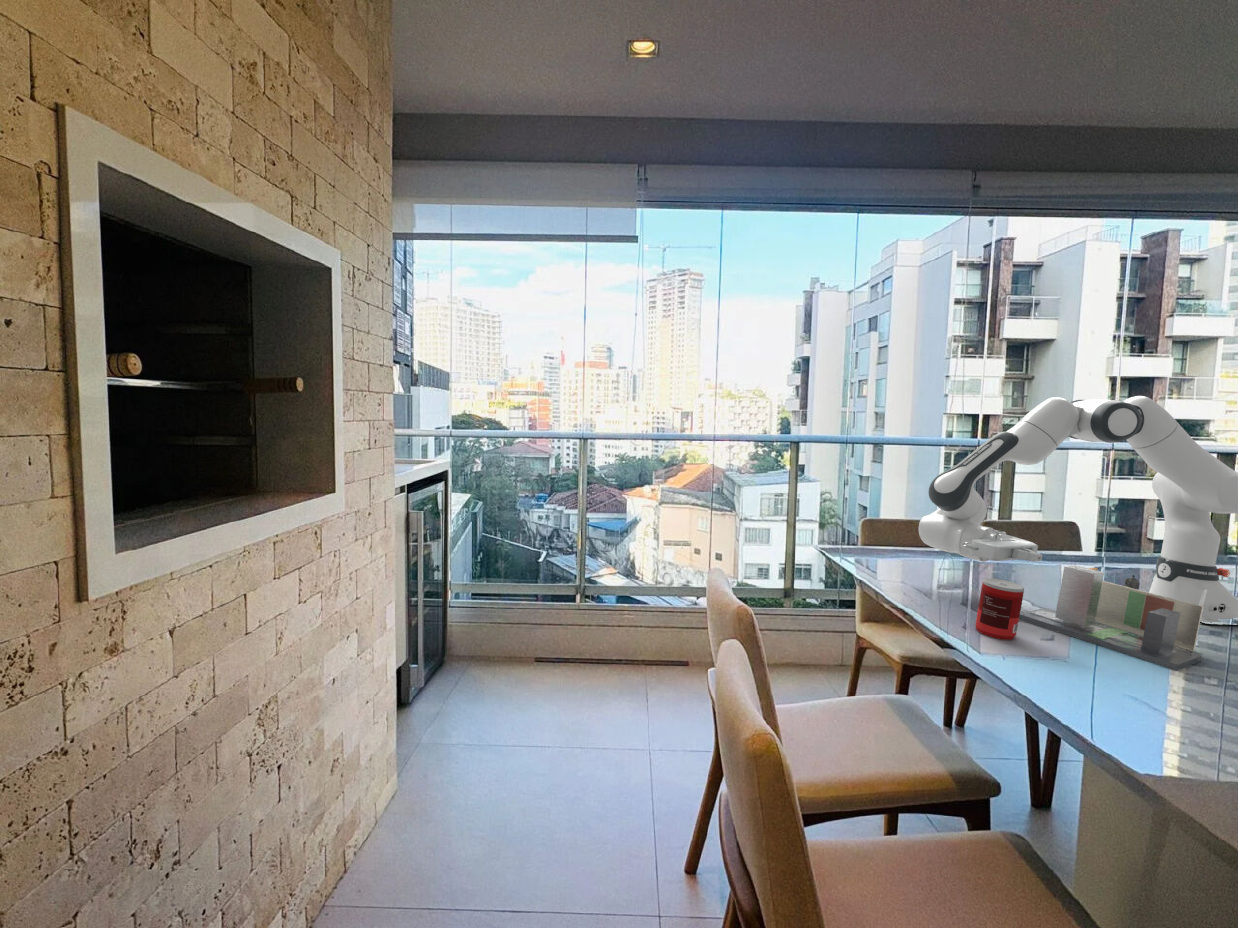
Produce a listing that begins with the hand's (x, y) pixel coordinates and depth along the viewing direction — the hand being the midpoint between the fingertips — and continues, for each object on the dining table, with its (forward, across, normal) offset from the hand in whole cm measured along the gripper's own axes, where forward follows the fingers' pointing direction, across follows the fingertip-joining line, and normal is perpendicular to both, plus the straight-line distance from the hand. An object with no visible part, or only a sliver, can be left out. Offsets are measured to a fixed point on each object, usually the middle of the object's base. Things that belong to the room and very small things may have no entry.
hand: (1039, 558), depth 157 cm
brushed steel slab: (+9, +2, +12) cm, 15 cm away
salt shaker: (+12, +22, +14) cm, 29 cm away
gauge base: (+15, +4, +14) cm, 21 cm away
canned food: (+5, -24, +14) cm, 29 cm away
